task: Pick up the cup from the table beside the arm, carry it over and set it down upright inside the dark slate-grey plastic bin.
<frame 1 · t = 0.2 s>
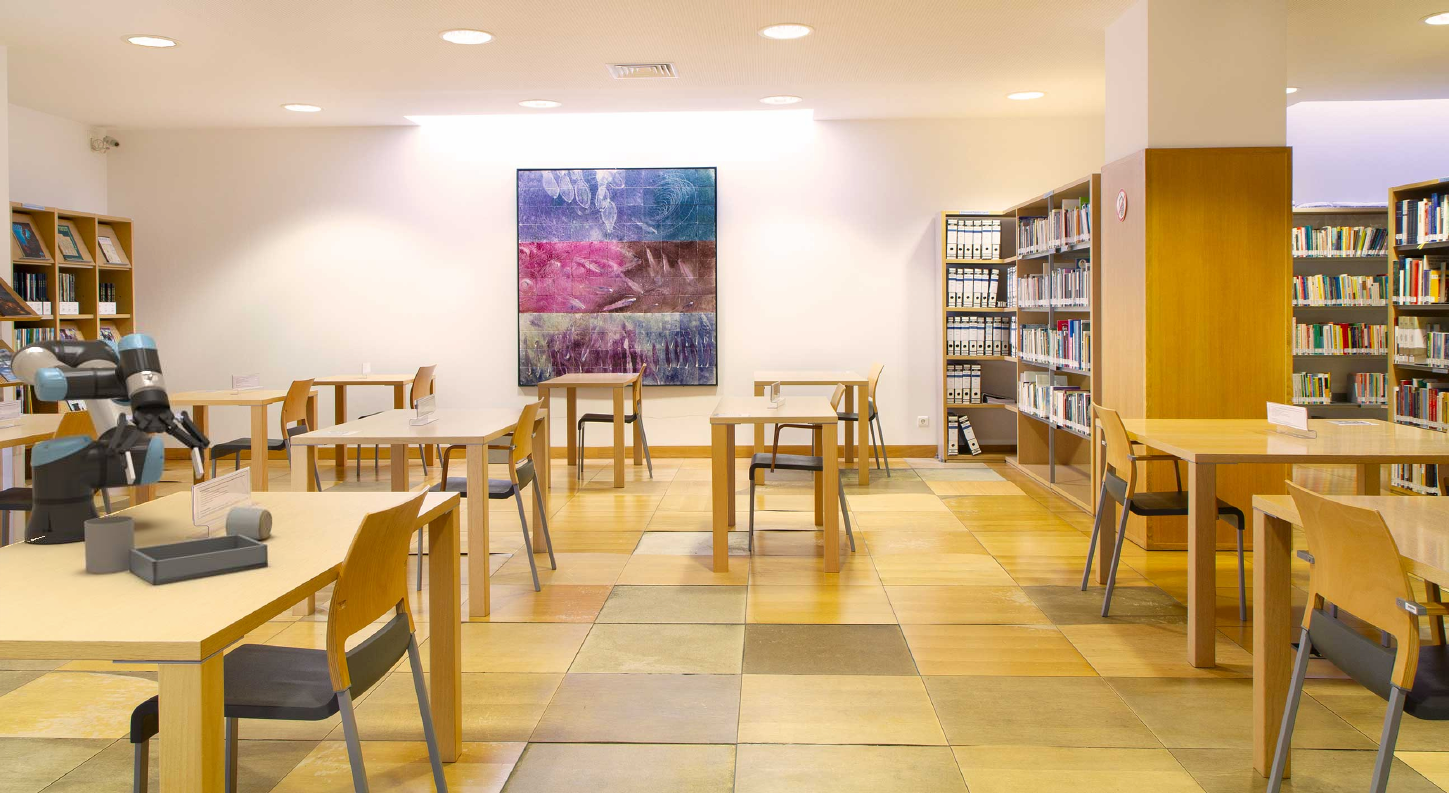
hand: (166, 478, 209), 16 cm above the table, tool tilted 35°, fingers open, 13 cm apart
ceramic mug: (251, 539, 222), on the table
cup: (110, 569, 192), on the table
slate bin: (199, 568, 193), on the table
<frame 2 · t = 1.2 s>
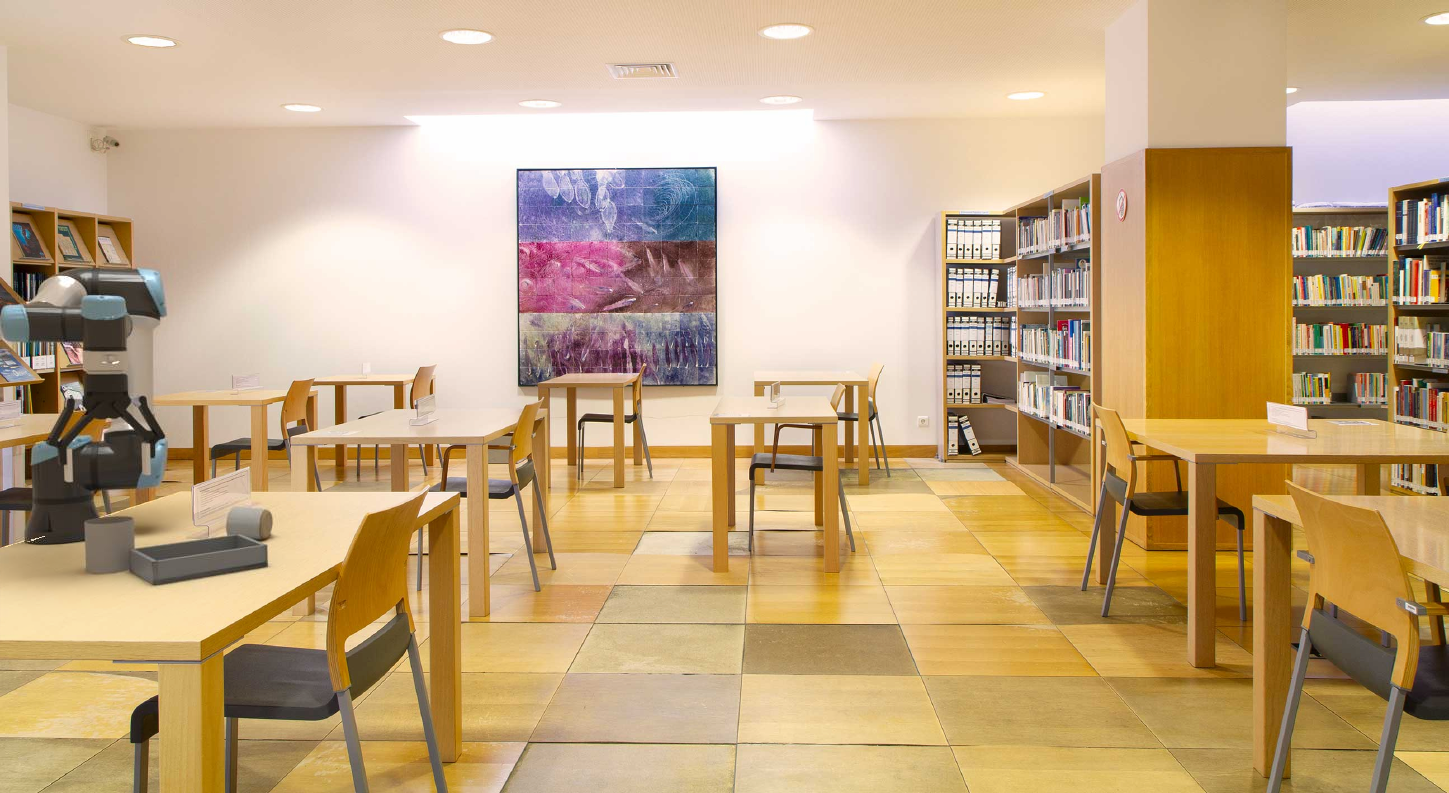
hand: (108, 477, 191), 19 cm above the table, tool pointing down, fingers open, 13 cm apart
nothing on the table moved.
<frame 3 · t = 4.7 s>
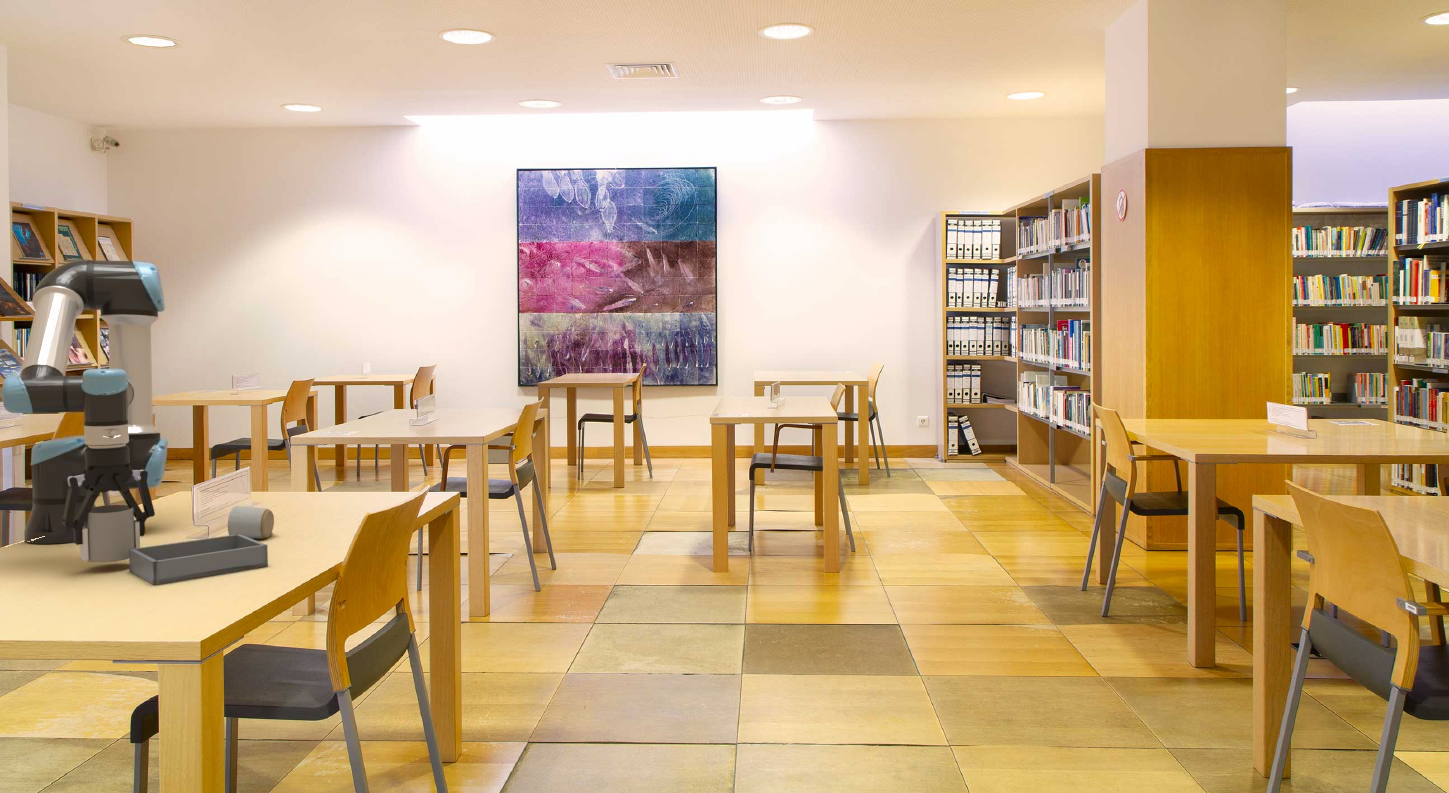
hand: (110, 555, 192), 3 cm above the table, tool pointing down, fingers closed on cup, 8 cm apart
cup: (110, 558, 193), point 2 cm above the table, touching gripper
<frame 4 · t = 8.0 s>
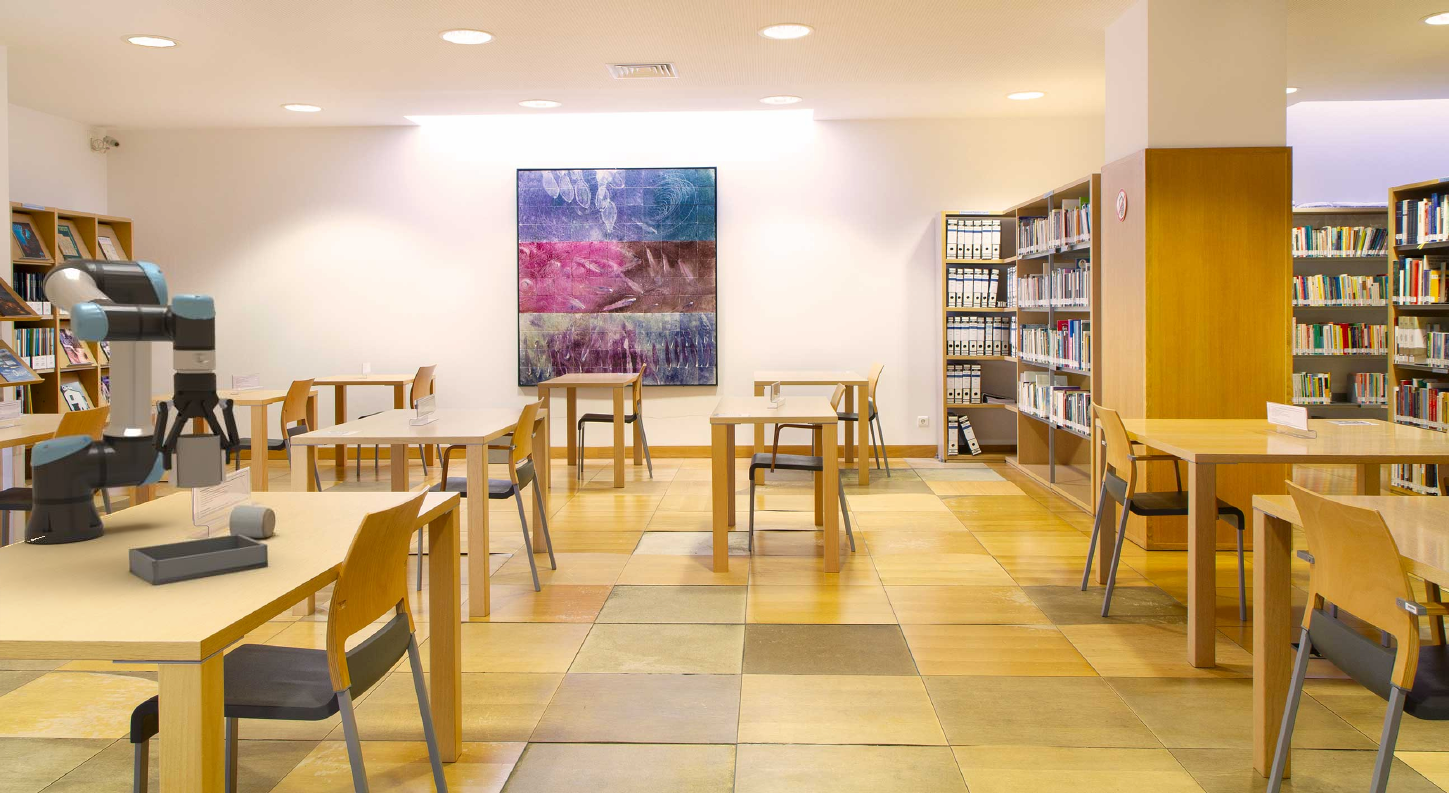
hand: (197, 483, 192), 18 cm above the table, tool pointing down, fingers closed on cup, 8 cm apart
cup: (197, 485, 192), point 17 cm above the table, touching gripper
when the fingers open (3 cm above the table, at t = 11.4 s): cup drops 1 cm, resting on slate bin.
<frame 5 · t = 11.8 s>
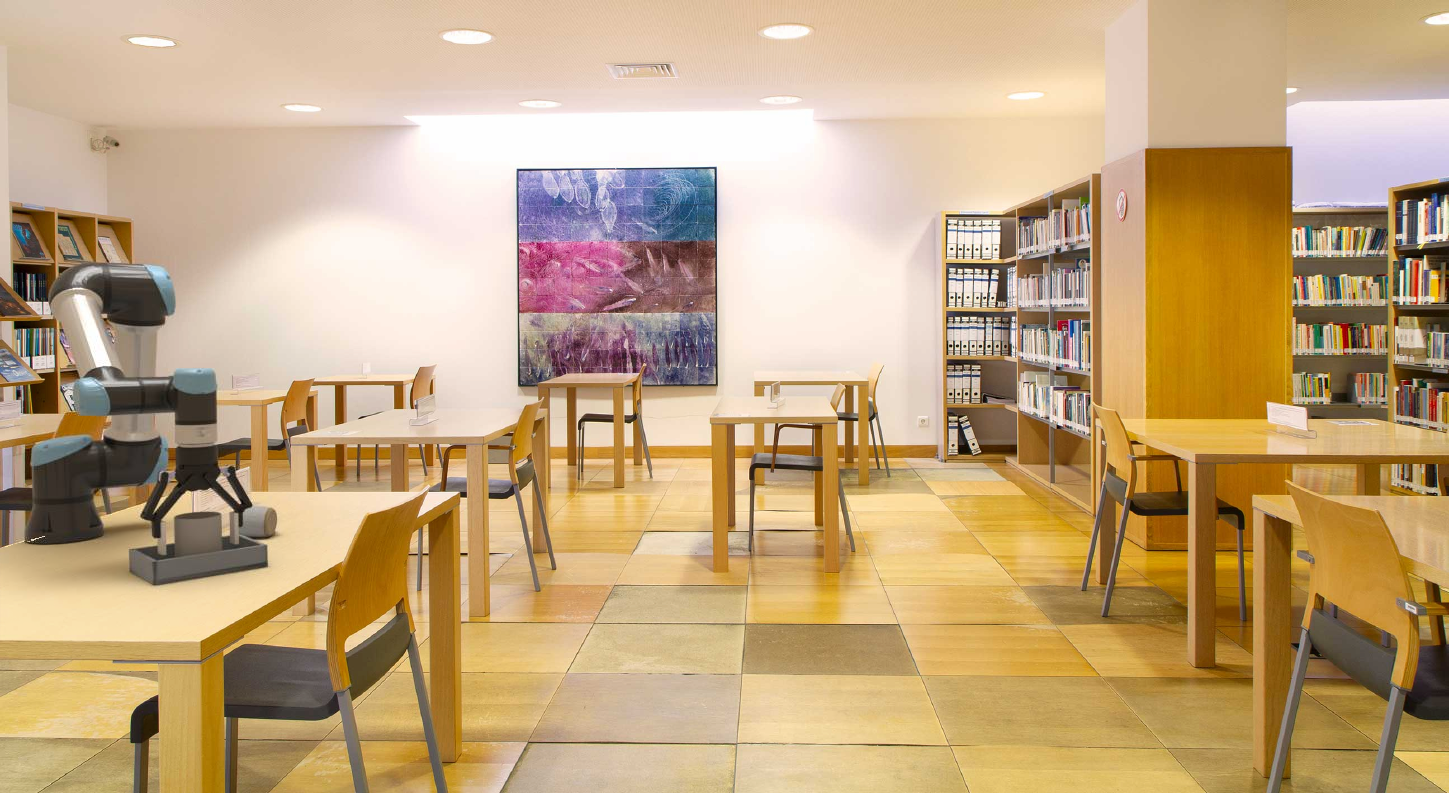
hand: (199, 548, 193), 4 cm above the table, tool pointing down, fingers open, 13 cm apart
cup: (199, 564, 193), point 1 cm above the table, touching slate bin
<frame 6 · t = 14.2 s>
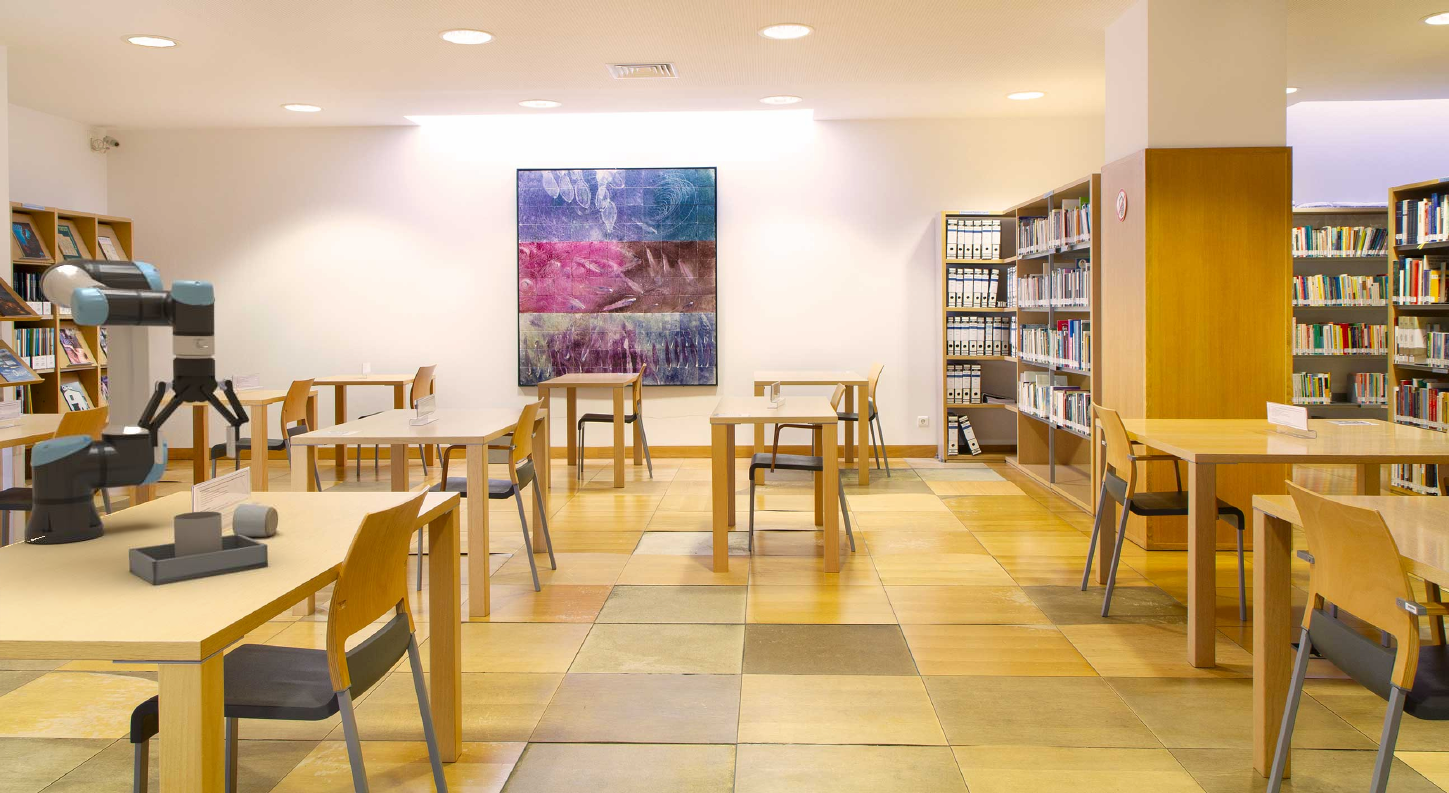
hand: (195, 460, 195), 22 cm above the table, tool pointing down, fingers open, 13 cm apart
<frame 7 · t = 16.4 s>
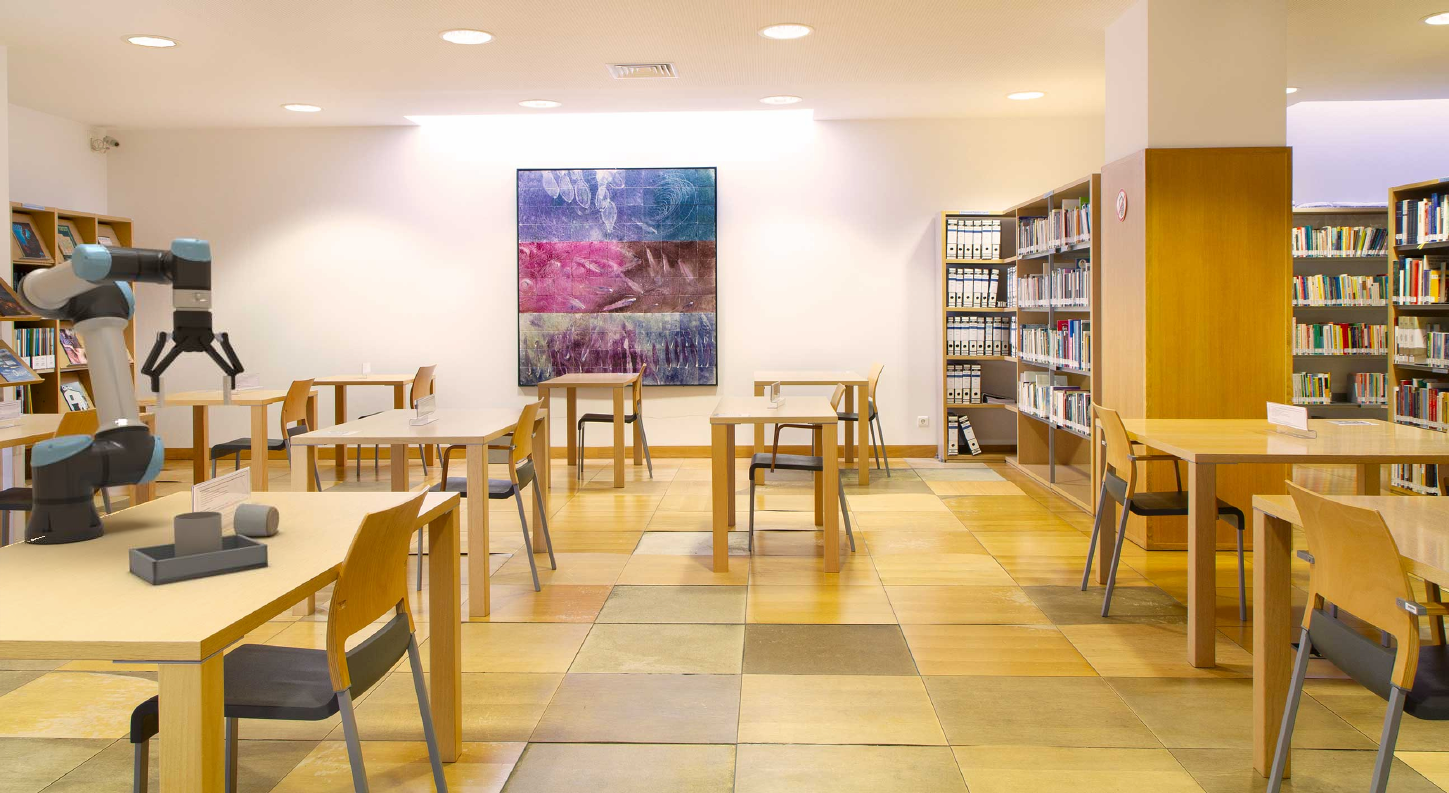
hand: (194, 406, 209), 32 cm above the table, tool pointing down, fingers open, 13 cm apart
at the end: cup inside the target area on the slate bin (0.2 cm from its centre), point 0.8 cm above the slate bin's base; cup tilted 0°; the gripper is holding nothing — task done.
